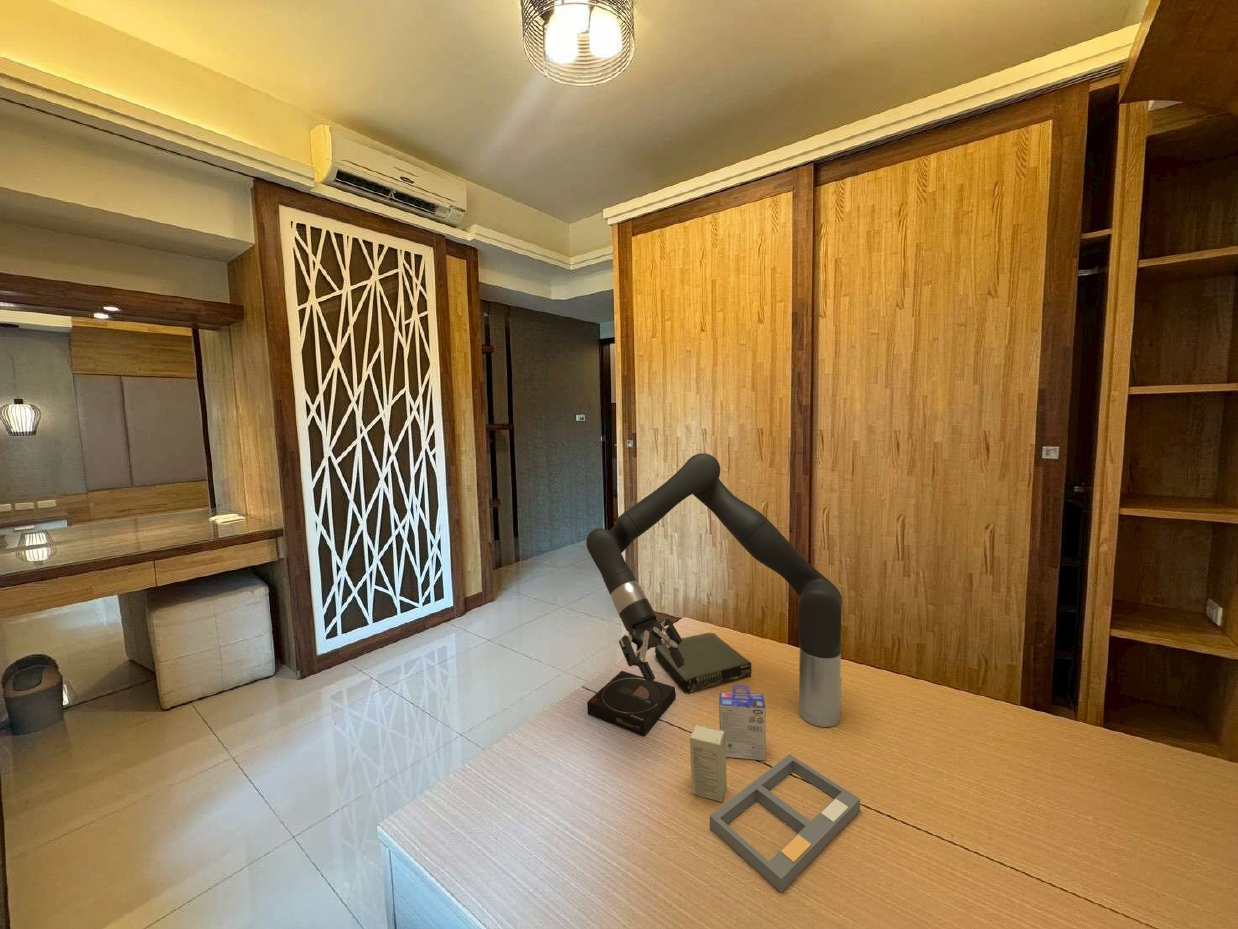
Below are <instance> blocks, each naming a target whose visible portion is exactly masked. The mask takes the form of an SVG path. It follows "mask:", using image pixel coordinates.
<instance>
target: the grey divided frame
mask: <svg viewBox="0 0 1238 929" xmlns="http://www.w3.org/2000/svg"><path fill="white" fill-rule="evenodd" d="M793 772H794V774H796V775H797V776H799V777H801V778H802V779H804V780H805V781H807V782H808V783H810V784H812V786H815V787H816V788H817V789H819V790H820V791H821V792H823V793H825V794H826V795H828V796H830V798H832V799H833V800H832V801H830V803H828V804H827V805H826V806H825V808H823V809H822V810H821V811H820V812H819V813H818V814H817V815H816V816H815V817H813V819H812V820H809V819H808V818H807V817H805V816H804V815H802V814H801V813H800V812H799V811H797V810H796V809H795V808H793V807H792V806H790V805H789V803H788V804H787V803H786V802H785V801H784V800H782V799H781V798H780V797H778V796H777V795H775V794H774V793H773V792H772V791H771V790H772V789H773V788H774V787H775V786H777V785H778V784H779V783H780V782H782V781H783V780H784V779H785V778H787V777H788V776H789V775H790V774H792V773H793ZM756 802H757V803H758V804H760V805H761V806H763V807H764V808H765V809H767V811H769V812H770V813H771V814H773V815H774V816H775V817H777V818H778V819H780V820H781V821H782V822H784V823H785V824H786V825H787V826H788V827H790V828H791V829H793V830H794V831H795V832H797V834H796V835H794V837H793V838H791V839H790V841H789V842H787V843H786V844H785V845H784V846H783V847H782V848H781V849H780V850H779V851H778V852H777V853H776V854H775V855H774V856H773V857H771V859H770V860H768V859H767V858H766V857H765V856H763V854H761V852H759V851H758V849H756V848H755V847H753V845H752V844H750V843H749V842H748V841H747V840H745V838H743V836H741V835H739V834H738V832H736V831H735V830H734V829H733V828H732V827H731V826H729V824H730V823H731V822H733V821H734V820H735V819H736V818H737V817H738V816H740V815H741V814H742V813H743V812H745V811H746V810H747V809H749V808H750V807H751V806H752V805H753V804H754V803H756ZM860 812H861V798H860V797H858V796H856V795H855V794H853V793H851V792H850V791H848V790H847V789H845V788H843V787H842V786H841V785H839V784H838V783H836V782H834V781H833V780H831V779H830V778H828V777H826V776H824V775H823V774H821V773H820V772H819V771H817V770H815V769H814V768H812V767H810V766H809V765H807V764H806V763H804V762H803V761H801V760H799V759H798V758H796V757H795V756H793V755H792V754H790V753H789V754H787V755H786V756H785V757H784V758H782V759H781V760H779V761H778V762H777V763H776V764H774V765H773V766H772V767H771V768H769V769H768V770H767V771H765V772H764V773H763V774H761V775H760V776H759V777H757V778H756V779H755V780H753V781H752V782H751V783H750V784H748V786H746V787H745V788H744V789H742V790H740V791H739V792H738V793H737V794H735V795H734V796H733V797H731V798H730V799H729V800H728V801H726V802H725V803H724V804H722V805H721V806H720V807H719V808H717V809H716V810H715V811H713V812H712V813H711V814H709V828H710V830H711V831H713V832H714V833H715V834H716V836H718V837H719V838H720V839H721V840H723V842H725V843H726V844H727V845H728V846H729V847H730V848H731V849H733V851H735V852H736V853H737V854H738V855H739V857H740V858H742V859H743V860H744V861H745V862H747V863H748V865H750V866H751V867H752V868H753V869H754V870H755V871H756V872H757V873H759V875H761V876H762V877H763V878H764V879H765V880H766V881H767V882H769V884H770V885H771V886H773V887H774V888H775V889H776V890H777V891H778V892H779V893H780V894H782V893H783V892H784V891H785V890H787V888H788V887H789V886H790V885H791V884H792V883H793V882H794V880H796V879H797V877H799V875H800V874H801V873H803V871H804V870H805V869H806V868H807V867H808V866H809V865H810V864H811V863H812V862H813V861H814V859H816V857H818V855H819V854H820V853H822V851H824V849H825V848H826V847H828V845H829V844H830V843H831V842H832V841H833V840H834V839H835V838H836V837H837V836H838V835H839V834H841V832H842V830H844V828H845V827H847V825H848V824H850V822H851V821H853V819H854V818H855V817H856V816H857V815H858V813H860Z"/></svg>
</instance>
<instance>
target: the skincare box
mask: <svg viewBox="0 0 1238 929" xmlns="http://www.w3.org/2000/svg"><path fill="white" fill-rule="evenodd" d="M689 750H690V752H689V753H690V771H691V792H692V794H693V795H696V796H699V797H702V798H706V799H709V800H713V801H715V802H716V801H717V802H721V803H723V801H724V800H725V796H726V793H727V792H726V791H727V789H728V788H727V787H728V784H727V782H728V781H727V757H726V751H725V732H724V731H721V730H720V729H716V728H712V727H708V726H704V725H699V724H695V725H694V727H693V729H692V731H691V732H690V735H689Z"/></svg>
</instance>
